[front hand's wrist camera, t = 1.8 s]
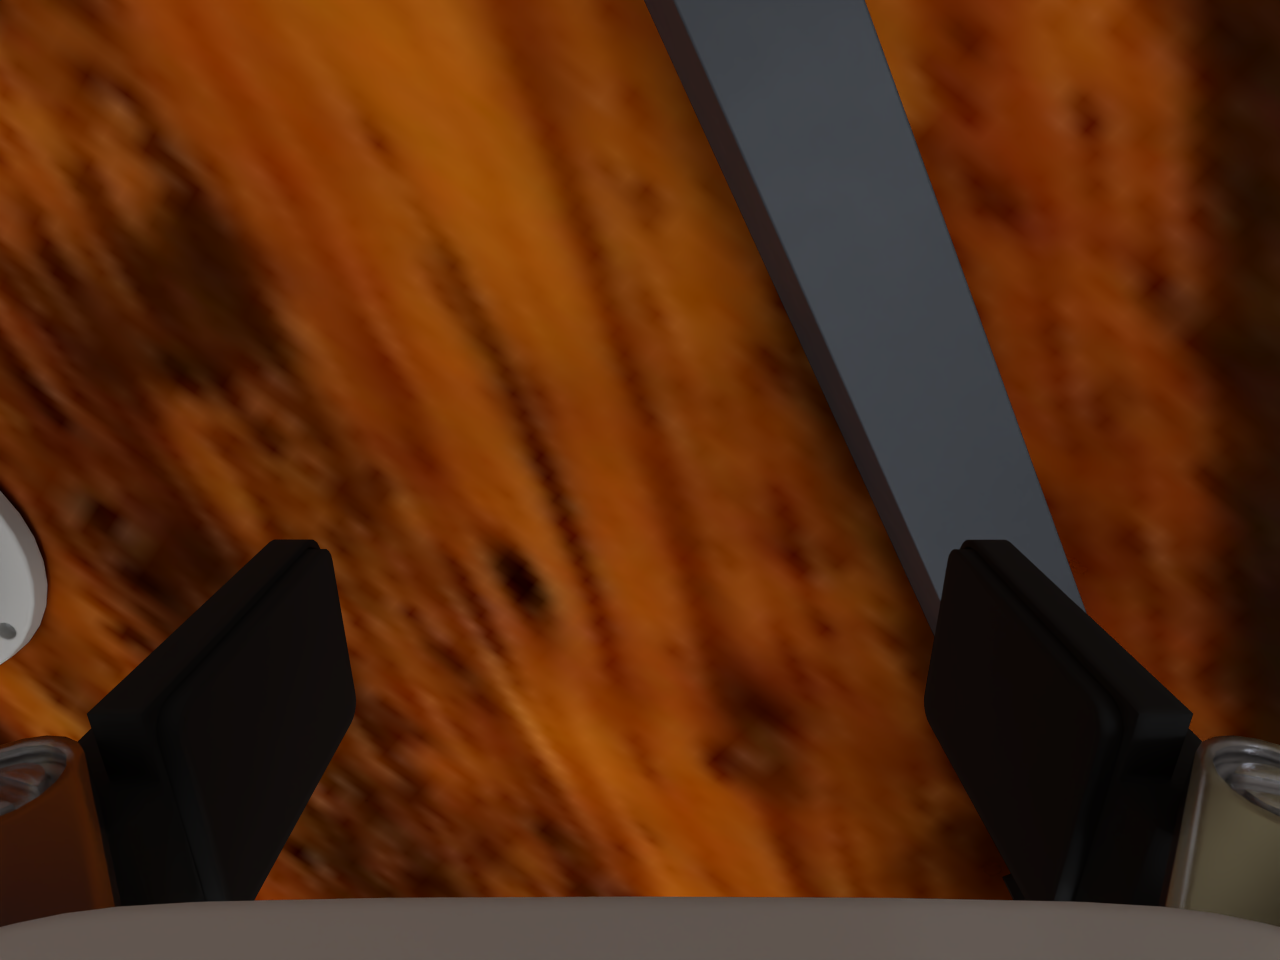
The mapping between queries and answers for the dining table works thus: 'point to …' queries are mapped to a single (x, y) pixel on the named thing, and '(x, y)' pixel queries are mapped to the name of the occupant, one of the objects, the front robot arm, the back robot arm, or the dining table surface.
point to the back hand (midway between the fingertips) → (1113, 856)
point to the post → (865, 272)
